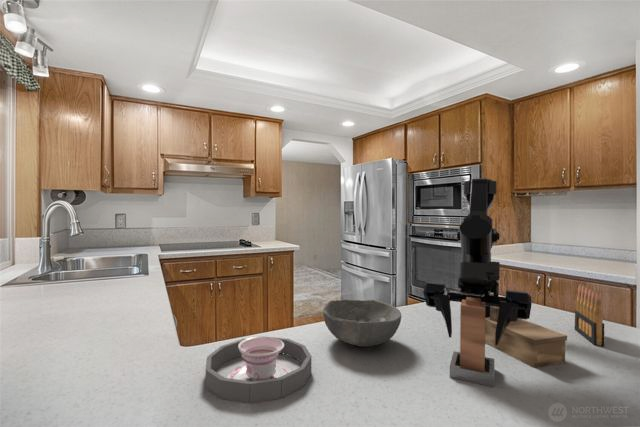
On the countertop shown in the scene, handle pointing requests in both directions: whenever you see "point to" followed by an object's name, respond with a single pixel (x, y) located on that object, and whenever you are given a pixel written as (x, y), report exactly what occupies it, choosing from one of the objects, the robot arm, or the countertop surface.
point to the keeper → (473, 371)
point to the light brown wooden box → (527, 349)
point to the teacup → (259, 359)
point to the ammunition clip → (589, 316)
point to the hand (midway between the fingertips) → (472, 340)
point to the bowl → (361, 321)
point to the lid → (526, 330)
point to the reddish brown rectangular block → (472, 334)
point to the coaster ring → (259, 388)
